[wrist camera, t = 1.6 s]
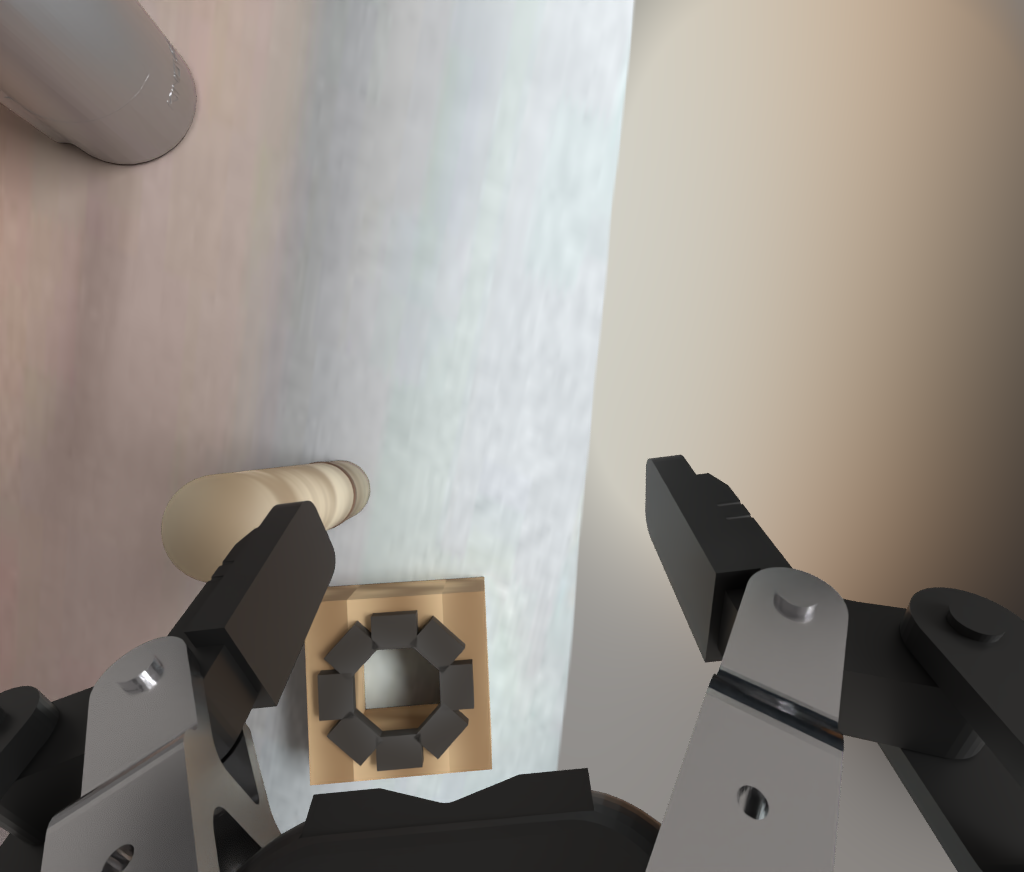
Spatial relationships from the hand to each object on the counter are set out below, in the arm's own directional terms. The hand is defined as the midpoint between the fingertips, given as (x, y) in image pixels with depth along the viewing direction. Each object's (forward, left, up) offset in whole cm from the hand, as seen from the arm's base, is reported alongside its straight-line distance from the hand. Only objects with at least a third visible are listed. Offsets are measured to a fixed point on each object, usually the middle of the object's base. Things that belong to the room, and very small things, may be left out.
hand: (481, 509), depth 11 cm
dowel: (-10, -1, -20) cm, 23 cm away
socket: (-6, -13, -20) cm, 25 cm away
